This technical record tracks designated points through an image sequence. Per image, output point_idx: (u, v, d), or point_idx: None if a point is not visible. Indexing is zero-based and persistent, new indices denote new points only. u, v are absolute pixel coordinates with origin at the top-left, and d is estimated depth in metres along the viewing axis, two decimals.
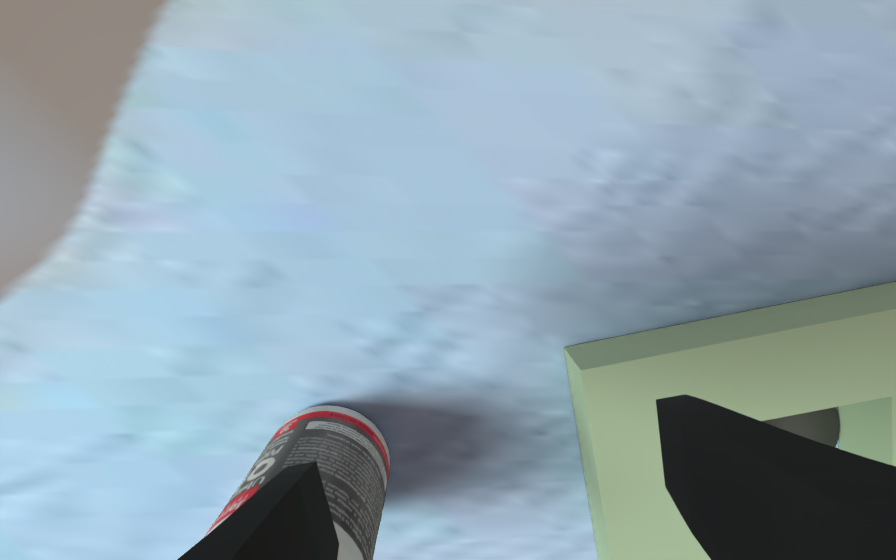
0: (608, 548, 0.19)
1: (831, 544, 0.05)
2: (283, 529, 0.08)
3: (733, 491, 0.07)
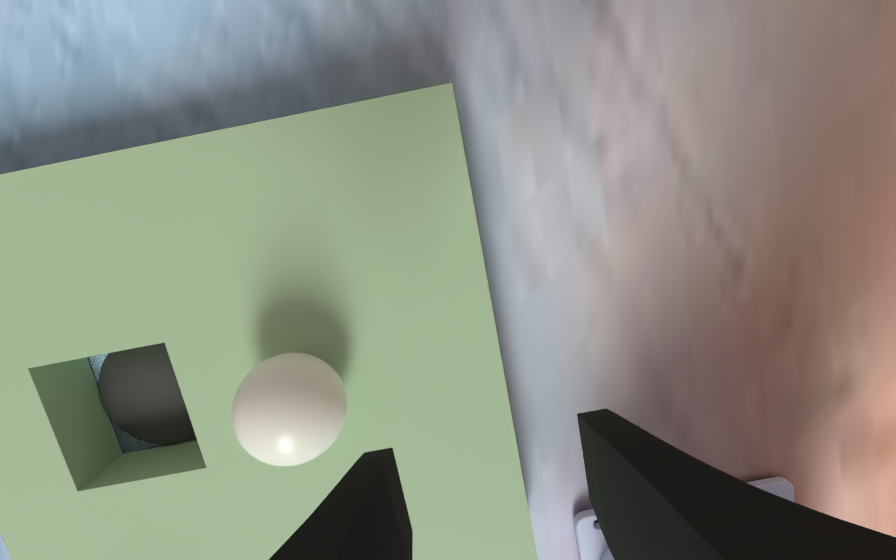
0: None
1: None
2: (377, 512, 0.08)
3: (630, 509, 0.07)
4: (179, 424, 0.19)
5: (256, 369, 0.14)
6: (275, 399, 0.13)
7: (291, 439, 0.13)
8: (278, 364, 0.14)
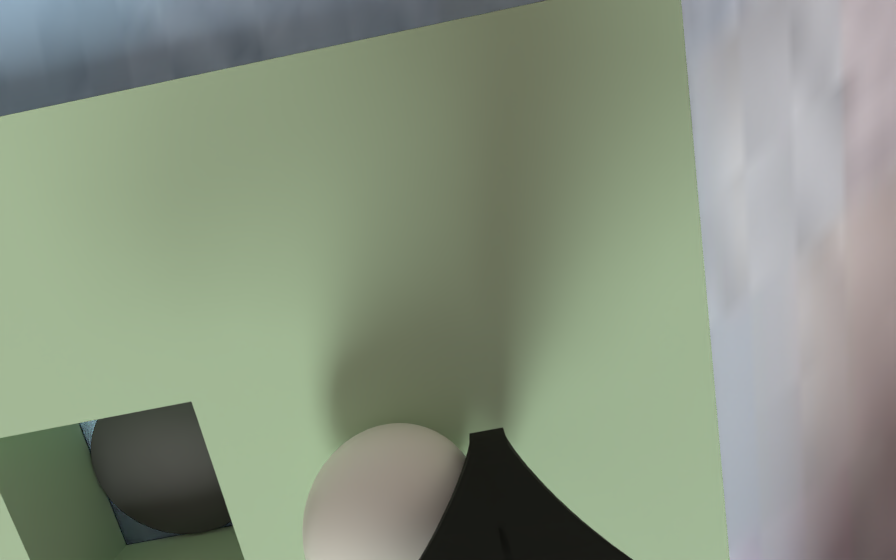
0: None
1: None
2: None
3: None
4: (207, 506, 0.13)
5: (343, 458, 0.08)
6: (379, 528, 0.07)
7: None
8: (380, 454, 0.08)
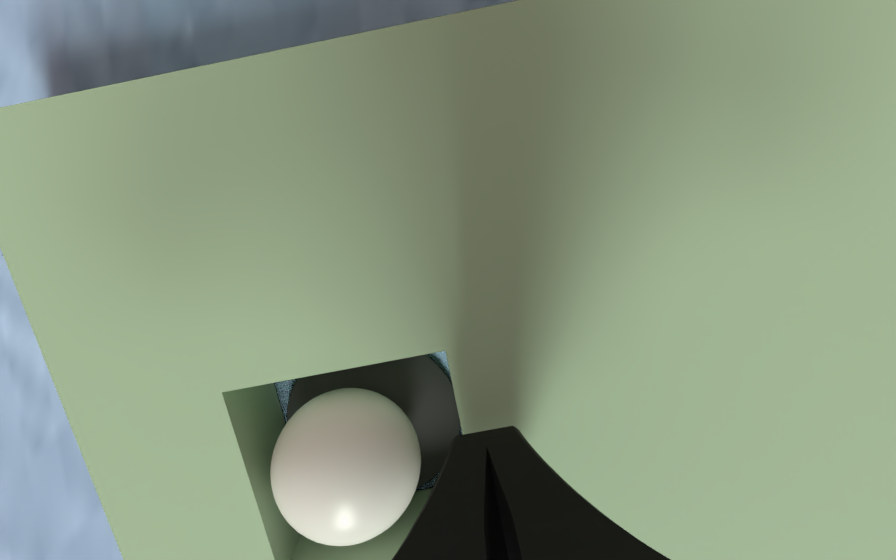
0: None
1: None
2: (490, 492, 0.08)
3: (509, 530, 0.07)
4: None
5: (344, 413, 0.10)
6: (396, 406, 0.11)
7: None
8: (348, 394, 0.11)
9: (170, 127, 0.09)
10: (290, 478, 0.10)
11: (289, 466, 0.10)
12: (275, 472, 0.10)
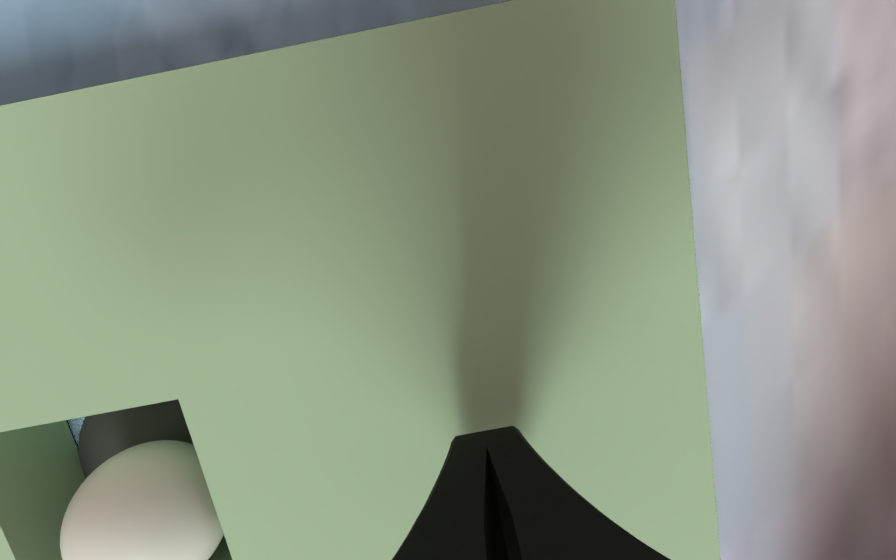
0: None
1: None
2: (490, 492, 0.08)
3: (509, 530, 0.07)
4: None
5: (147, 480, 0.10)
6: None
7: None
8: (142, 456, 0.11)
9: None
10: None
11: (97, 552, 0.10)
12: None
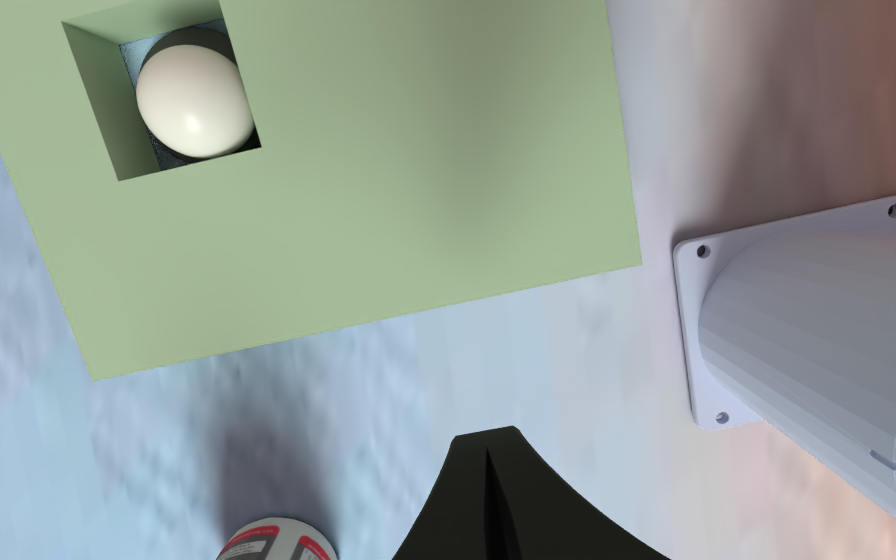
0: (303, 335, 0.16)
1: None
2: (490, 492, 0.08)
3: (509, 530, 0.07)
4: None
5: (199, 49, 0.14)
6: None
7: None
8: (192, 46, 0.15)
9: None
10: (172, 88, 0.14)
11: (168, 80, 0.14)
12: (154, 90, 0.14)
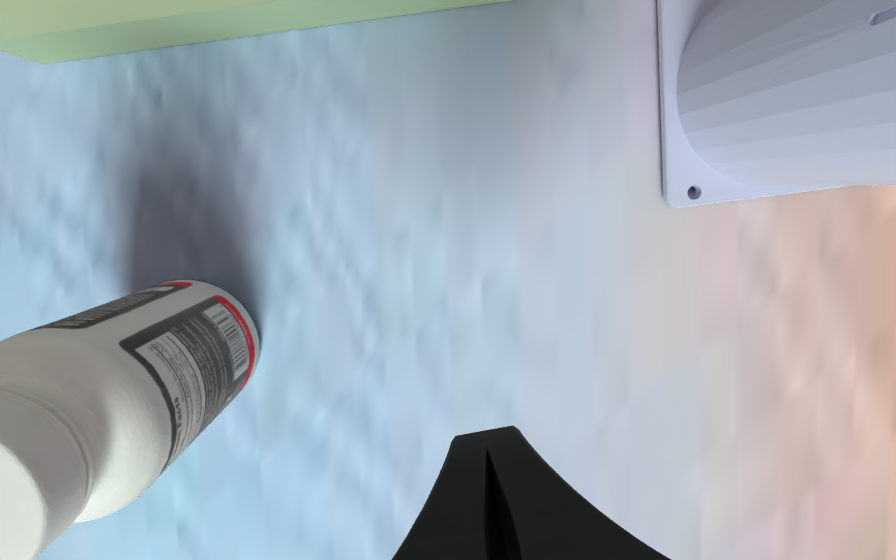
0: (231, 8, 0.14)
1: None
2: (490, 492, 0.08)
3: (509, 530, 0.07)
4: None
5: None
6: None
7: None
8: None
9: None
10: None
11: None
12: None
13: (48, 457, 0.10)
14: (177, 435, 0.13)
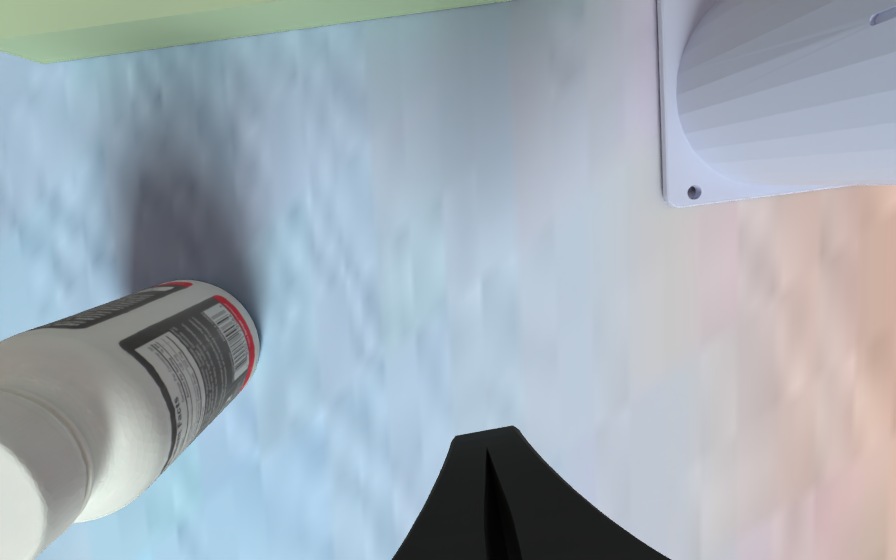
0: (231, 8, 0.14)
1: None
2: (490, 492, 0.08)
3: (509, 530, 0.07)
4: None
5: None
6: None
7: None
8: None
9: None
10: None
11: None
12: None
13: (48, 457, 0.10)
14: (177, 435, 0.13)
